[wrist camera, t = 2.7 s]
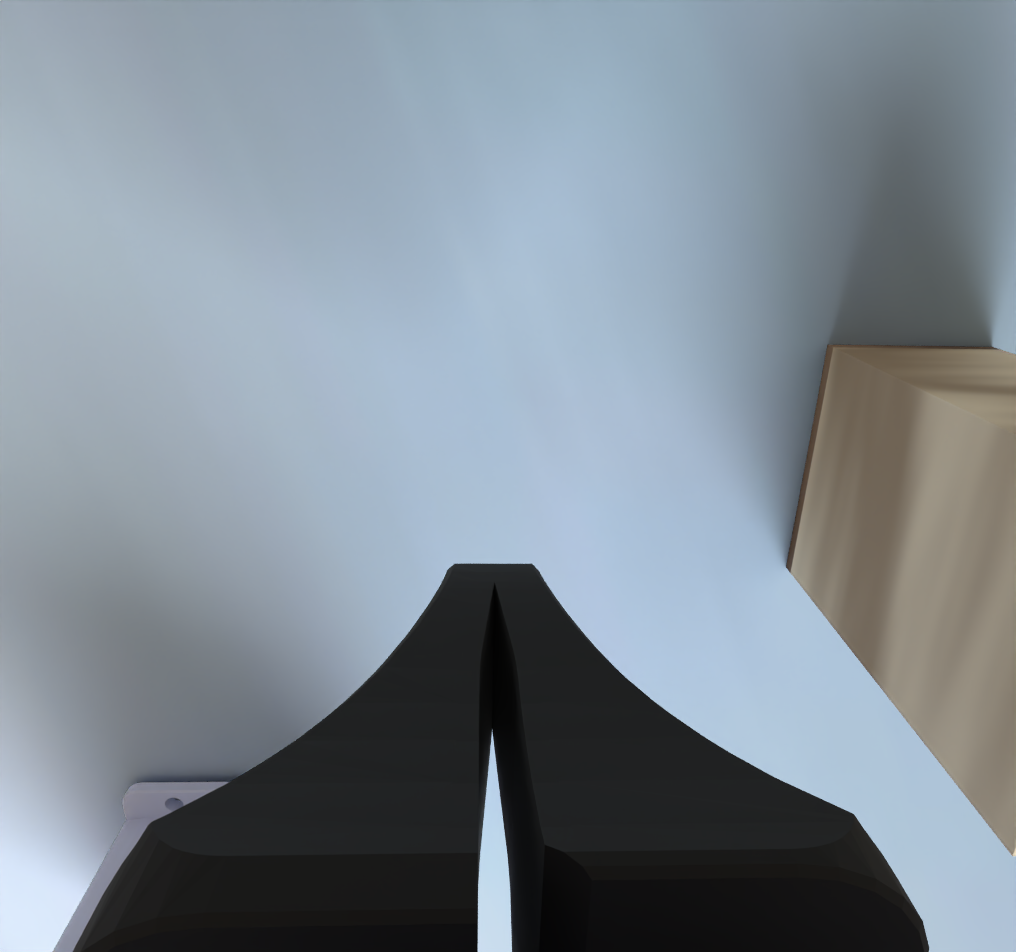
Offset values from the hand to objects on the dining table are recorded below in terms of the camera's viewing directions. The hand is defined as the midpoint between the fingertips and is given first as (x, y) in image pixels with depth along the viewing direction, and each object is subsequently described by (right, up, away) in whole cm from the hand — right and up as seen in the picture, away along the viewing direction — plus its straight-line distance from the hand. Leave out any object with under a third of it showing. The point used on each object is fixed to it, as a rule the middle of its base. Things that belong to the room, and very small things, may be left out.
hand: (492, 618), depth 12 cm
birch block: (+10, +3, +7) cm, 12 cm away
